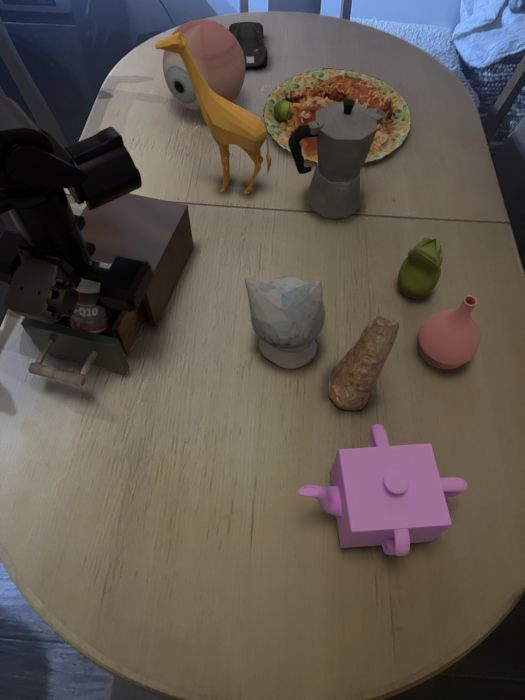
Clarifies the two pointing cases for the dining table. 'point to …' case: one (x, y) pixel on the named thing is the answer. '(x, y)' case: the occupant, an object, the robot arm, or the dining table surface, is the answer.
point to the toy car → (251, 43)
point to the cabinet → (143, 242)
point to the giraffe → (222, 115)
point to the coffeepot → (337, 155)
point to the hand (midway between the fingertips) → (88, 312)
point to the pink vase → (450, 336)
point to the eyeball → (206, 62)
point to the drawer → (85, 345)
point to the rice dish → (335, 86)
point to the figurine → (287, 319)
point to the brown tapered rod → (362, 364)
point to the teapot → (387, 495)
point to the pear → (421, 269)
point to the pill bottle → (89, 309)
